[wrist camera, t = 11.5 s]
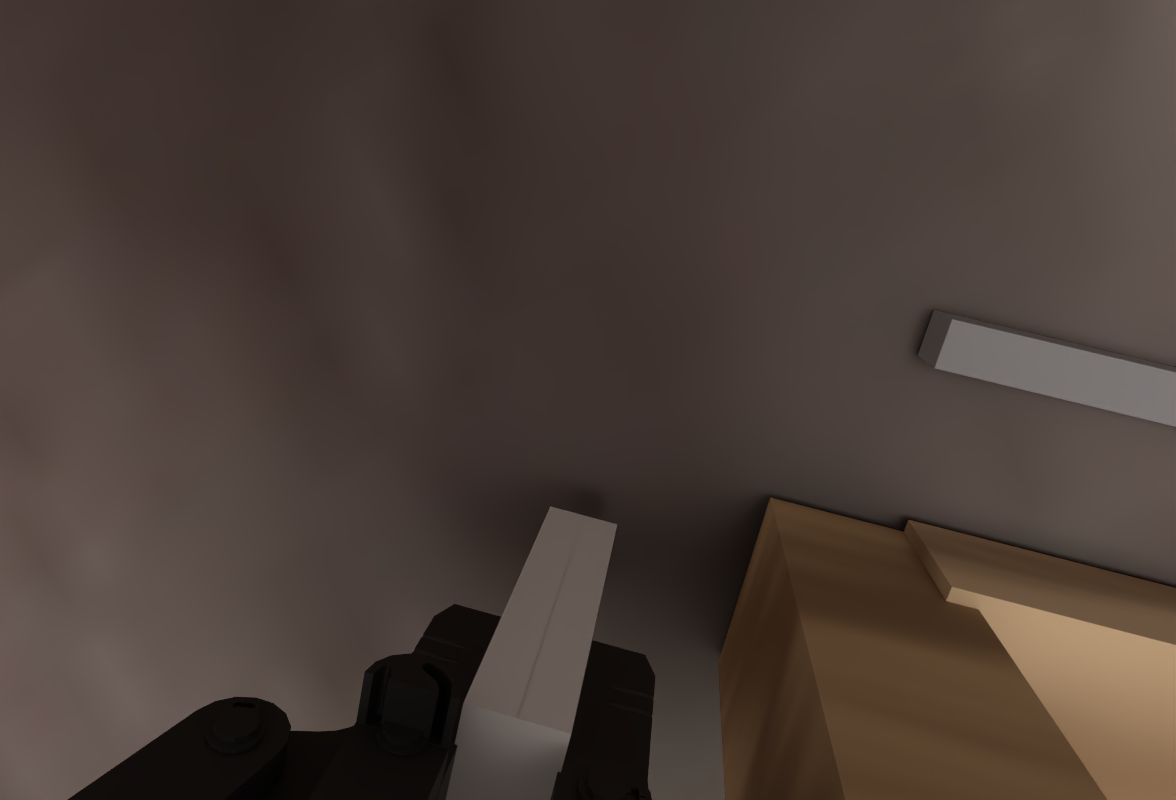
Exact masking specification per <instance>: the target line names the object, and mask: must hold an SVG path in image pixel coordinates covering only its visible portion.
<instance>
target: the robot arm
mask: <svg viewBox="0 0 1176 800" xmlns="http://www.w3.org/2000/svg"><path fill="white" fill-rule="evenodd" d="M616 528H617V524H614V523H610V522H607V521H603V520H599V519H595V518H592V517H588V516H584V515H581V514H577V513H573V512H569V511H566V510H562V509H558V508H555V507H551V506H550V508H549V511H548V513H547V515H546V517H545V520H544V522H543V524H542V527H541V529H540V531H539V533H538V536H537V538H536V540H535V542H534V545H533V547H532V549H531V551H530V554H529V556H528V558H527V560H526V563H525V565H524V567H523V569H522V572H521V574H520V576H519V578H518V581H517V583H516V585H515V588H514V590H513V592H512V594H511V597H510V599H509V601H508V603H507V606H506V608H505V610H504V612H503V615H502V617H499V616H496V615H492V614H489V613H485V612H482V611H478V610H474V609H471V608H467V607H464V606H460V605H456V604H454V605H452V606H450V607H449V608H447V609H445V610H444V611H442V612H440V613H439V614H437V615H435V616H434V617H433V619H432V621H431V622H430V624H429V626H428V627H427V629H426V631H425V632H424V634H423V637H421V639H420V641H419V642H418V644H417V646H416V647H415V650H414V652H412V654H401V655H391V656H389V657H386V658H384V659H381V660H379V661H376V662H375V663H374V664H373V665H372V666H371V667H370V668H368V669H367V670H366V671H365V674H364V680H363V686H362V692H361V698H360V704H359V709H358V715H357V721H356V724H355V725H354V726H352V727H349V728H345V729H341V730H336V731H322V732H313V731H290V730H291V725H290V723H289V720H288V718H287V715H286V713H285V712H283V711H282V710H281V709H280V708H279V707H277V706H276V705H275V704H274V703H271V702H268V701H265V700H262V699H258V698H250V697H233V698H228V699H224V700H219V701H215V702H213V703H211V704H209V705H207V706H205V707H203V708H201V709H199V710H197V711H195V712H194V713H192V714H191V715H189V716H188V717H187V718H185V719H184V720H182V721H181V722H179V723H178V724H176V725H175V726H174V727H172V728H171V729H169V730H168V731H166V732H165V733H163V734H162V735H160V736H159V737H158V738H156V739H155V740H153V741H152V742H150V743H149V744H147V745H146V746H145V747H143V748H142V749H140V750H139V751H137V752H136V753H134V754H133V755H132V756H130V757H129V758H127V759H126V760H124V761H123V762H121V763H120V764H119V765H117V766H116V767H114V768H113V769H111V770H110V771H108V772H107V773H106V774H104V775H103V776H101V777H100V778H98V779H97V780H95V781H94V782H93V783H91V784H90V785H88V786H87V787H85V788H84V789H82V790H81V791H79V792H78V793H77V794H75V795H74V796H72V797H71V798H69V799H68V800H652V798H651V793H650V791H649V789H648V766H649V753H650V740H651V726H652V713H653V697H654V686H655V674H654V672H653V670H652V668H651V666H650V664H649V662H648V660H647V658H646V656H645V655H643V654H640V653H636V652H633V651H629V650H625V649H622V648H618V647H615V646H611V645H607V644H604V643H600V642H597V641H593V640H592V637H593V633H594V628H595V624H596V619H597V615H598V610H599V606H600V601H601V597H602V592H603V587H604V583H605V578H606V574H607V569H608V565H609V560H610V556H611V551H612V547H613V542H614V537H615V533H616Z"/></svg>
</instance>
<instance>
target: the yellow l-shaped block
mask: <svg viewBox="0 0 1176 800" xmlns="http://www.w3.org/2000/svg"><path fill="white" fill-rule="evenodd" d="M718 668H719V688H720V707H721V726H722V745H723V764H724V784H725V800H1176V588H1174V587H1170V586H1166V585H1162V584H1158V583H1154V582H1150V581H1146V580H1142V579H1138V578H1135V577H1131V576H1127V575H1123V574H1119V573H1115V572H1111V571H1107V570H1103V569H1099V568H1095V567H1092V566H1088V565H1084V564H1080V563H1076V562H1072V561H1068V560H1064V559H1060V558H1056V557H1052V556H1049V555H1045V554H1041V553H1037V552H1033V551H1029V550H1025V549H1021V548H1017V547H1013V546H1009V545H1006V544H1002V543H998V542H994V541H990V540H986V539H982V538H978V537H974V536H970V535H966V534H963V533H959V532H955V531H951V530H947V529H943V528H939V527H935V526H931V525H927V524H923V523H920V522H916V521H912V520H908V522H907V525H906V527H905V530H904V532H903V531H899V530H895V529H891V528H887V527H883V526H880V525H876V524H872V523H868V522H864V521H860V520H856V519H852V518H848V517H845V516H841V515H837V514H833V513H829V512H825V511H821V510H817V509H813V508H810V507H806V506H802V505H798V504H794V503H790V502H786V501H782V500H778V499H774V498H771V497H770V500H769V503H768V506H767V510H766V513H765V516H764V519H763V522H762V525H761V529H760V532H759V535H758V538H757V541H756V544H755V547H754V551H753V554H752V557H751V560H750V563H749V566H748V570H747V573H746V576H745V579H744V582H743V585H742V589H741V592H740V595H739V598H738V601H737V604H736V608H735V611H734V614H733V617H732V620H731V623H730V627H729V630H728V633H727V636H726V639H725V642H724V646H723V649H722V652H721V655H720V658H719V661H718Z"/></svg>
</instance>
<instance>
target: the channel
mask: <svg viewBox="0 0 1176 800" xmlns="http://www.w3.org/2000/svg"><path fill="white" fill-rule="evenodd" d="M918 356H919V357H920V358H921V359H923V360H924V361H925V362H927V363H928V364H929V365H931V366H932V367H933V368H936V369H940V370H944V371H948V372H952V373H956V374H960V375H964V376H969V377H973V378H977V379H981V380H985V381H989V382H993V383H997V384H1002V385H1006V386H1010V387H1014V388H1018V389H1022V390H1026V391H1030V392H1034V393H1039V394H1043V395H1047V396H1051V397H1055V398H1059V399H1063V400H1067V401H1072V402H1076V403H1080V404H1084V405H1088V406H1092V407H1096V408H1100V409H1105V410H1109V411H1113V412H1117V413H1121V414H1125V415H1129V416H1133V417H1138V418H1142V419H1146V420H1150V421H1154V422H1158V423H1162V424H1166V425H1171V426H1175V427H1176V367H1172V366H1168V365H1164V364H1160V363H1155V362H1151V361H1147V360H1143V359H1139V358H1134V357H1130V356H1126V355H1122V354H1118V353H1113V352H1109V351H1105V350H1101V349H1097V348H1092V347H1088V346H1084V345H1080V344H1075V343H1071V342H1067V341H1063V340H1059V339H1054V338H1050V337H1046V336H1042V335H1038V334H1033V333H1029V332H1025V331H1021V330H1017V329H1012V328H1008V327H1004V326H1000V325H996V324H991V323H987V322H983V321H979V320H975V319H970V318H966V317H962V316H958V315H953V314H949V313H945V312H941V311H937V310H934V311H933V314H932V316H931V319H930V322H929V325H928V328H927V331H926V333H925V336H924V339H923V342H922V345H921V347H920V350H919V353H918Z"/></svg>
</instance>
